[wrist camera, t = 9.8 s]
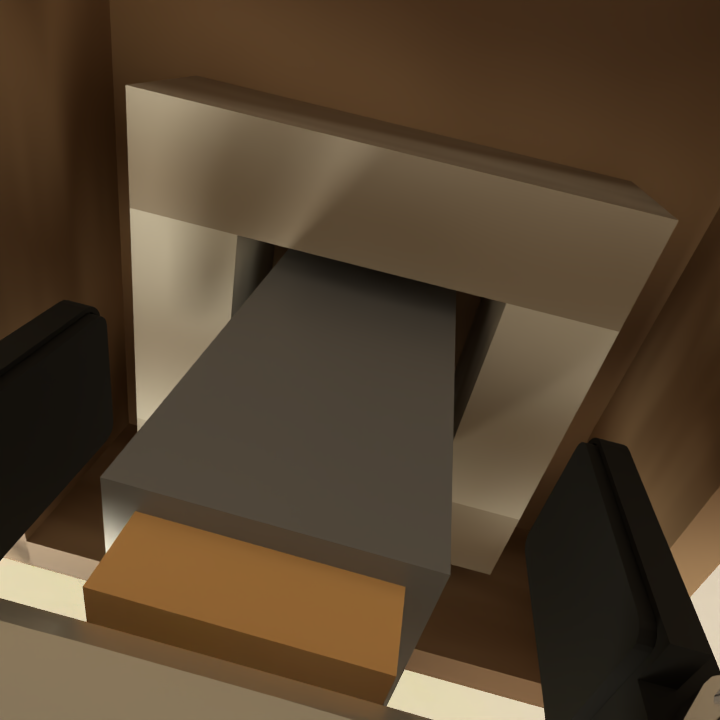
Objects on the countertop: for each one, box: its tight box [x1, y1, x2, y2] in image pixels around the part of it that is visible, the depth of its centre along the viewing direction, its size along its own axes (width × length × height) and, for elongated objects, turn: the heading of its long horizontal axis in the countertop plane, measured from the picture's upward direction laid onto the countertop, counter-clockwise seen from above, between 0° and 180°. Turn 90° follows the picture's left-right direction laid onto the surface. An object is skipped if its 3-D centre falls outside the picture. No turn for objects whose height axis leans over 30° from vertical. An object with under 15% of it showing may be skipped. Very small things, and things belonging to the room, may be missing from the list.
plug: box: [83, 248, 456, 706], centre depth 10 cm, size 4×4×10 cm
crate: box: [0, 0, 720, 708], centre depth 12 cm, size 18×16×6 cm
